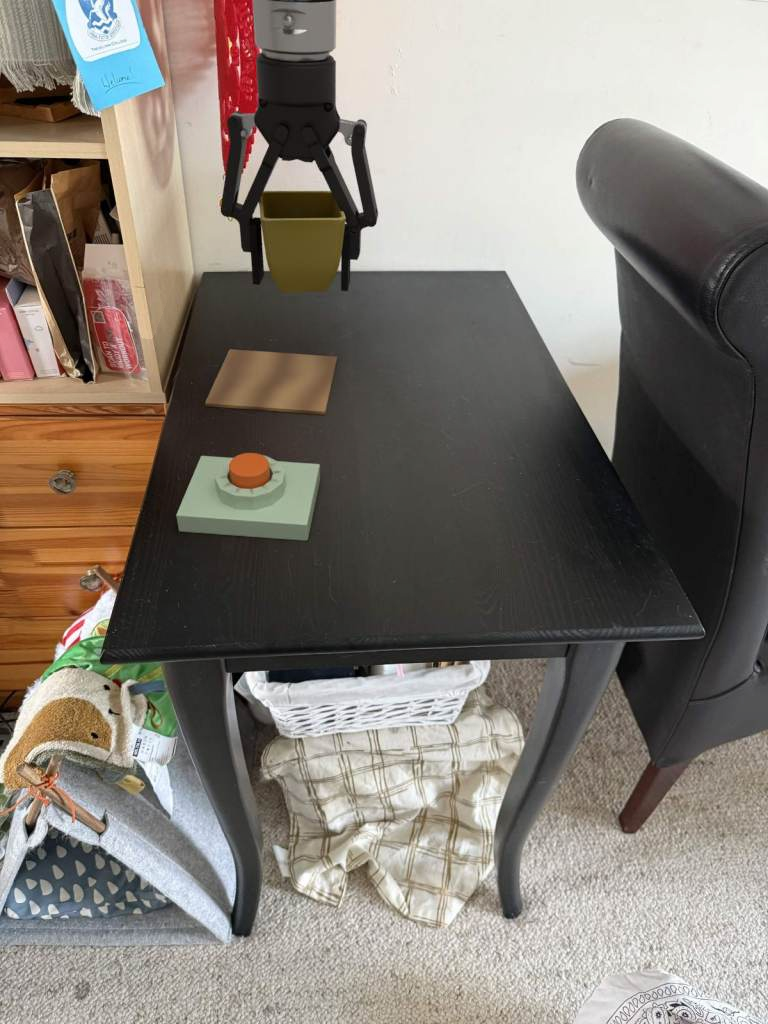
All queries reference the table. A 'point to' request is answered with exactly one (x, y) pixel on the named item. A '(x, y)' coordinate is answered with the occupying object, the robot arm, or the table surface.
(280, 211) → the flower pot
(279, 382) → the brown wooden board
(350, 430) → the table surface
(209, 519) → the green button base
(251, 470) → the round orange button
